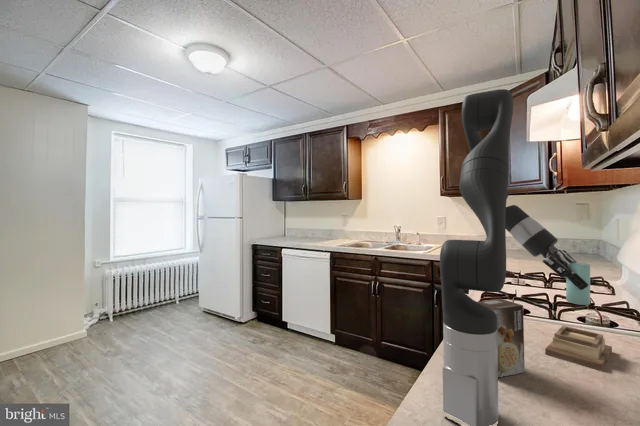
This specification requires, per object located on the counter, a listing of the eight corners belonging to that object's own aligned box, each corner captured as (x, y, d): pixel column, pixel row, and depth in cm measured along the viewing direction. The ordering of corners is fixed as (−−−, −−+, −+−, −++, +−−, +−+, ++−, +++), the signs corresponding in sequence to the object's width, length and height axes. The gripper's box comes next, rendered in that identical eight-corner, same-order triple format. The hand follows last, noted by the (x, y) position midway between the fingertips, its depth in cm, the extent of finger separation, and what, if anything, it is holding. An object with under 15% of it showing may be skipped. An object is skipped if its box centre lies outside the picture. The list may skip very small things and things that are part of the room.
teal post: (587, 306, 77) (587, 266, 77) (564, 301, 81) (564, 264, 80) (592, 302, 80) (592, 264, 80) (568, 298, 84) (568, 261, 83)
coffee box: (502, 360, 78) (501, 297, 77) (525, 373, 72) (524, 305, 71) (472, 365, 75) (471, 301, 75) (493, 379, 69) (493, 309, 69)
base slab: (601, 371, 72) (601, 349, 72) (545, 354, 80) (545, 335, 80) (611, 352, 81) (611, 333, 80) (560, 338, 89) (560, 321, 89)
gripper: (535, 229, 81) (595, 282, 72) (551, 226, 90) (606, 273, 81) (512, 247, 85) (567, 299, 76) (530, 242, 94) (581, 288, 85)
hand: (587, 285), depth 79 cm, fingers closed on teal post, 4 cm apart
